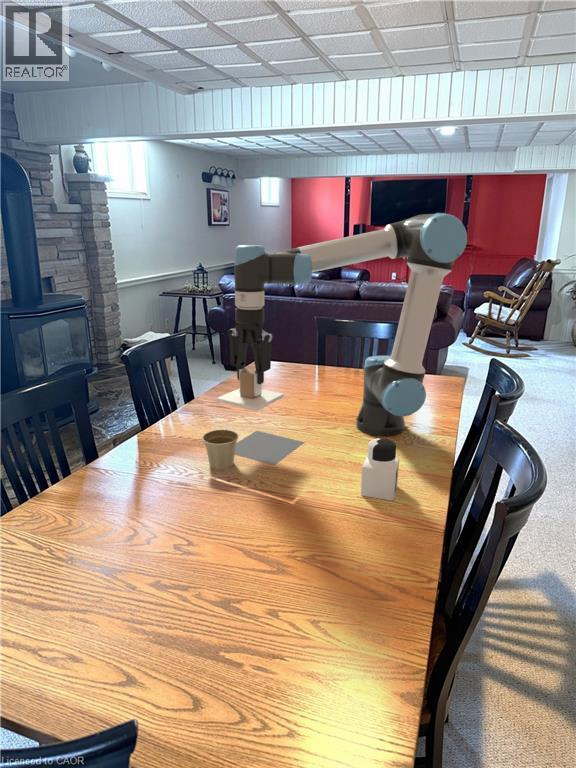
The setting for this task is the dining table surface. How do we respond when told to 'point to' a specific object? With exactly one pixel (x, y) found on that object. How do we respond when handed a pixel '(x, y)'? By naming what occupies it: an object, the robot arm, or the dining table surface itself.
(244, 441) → the mat
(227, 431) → the flower pot
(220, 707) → the dining table surface
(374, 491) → the container
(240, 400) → the lid
